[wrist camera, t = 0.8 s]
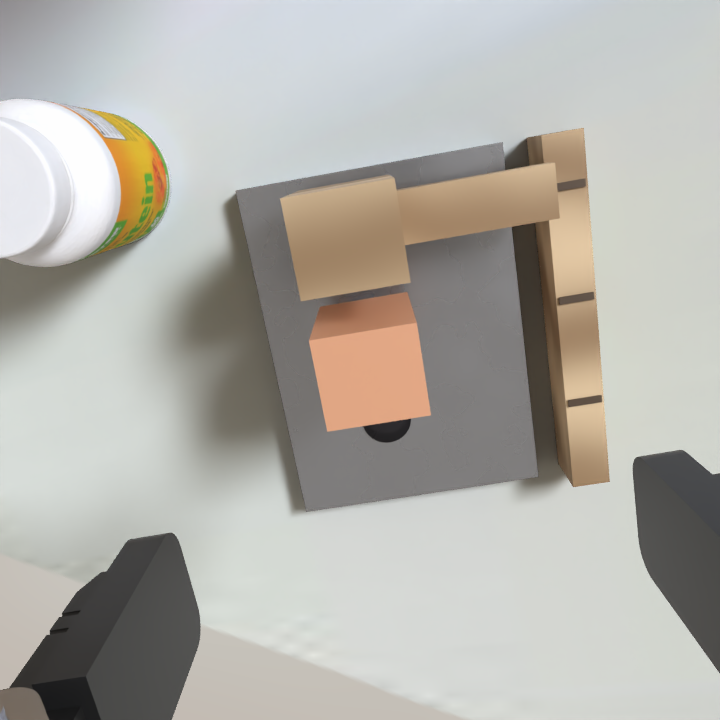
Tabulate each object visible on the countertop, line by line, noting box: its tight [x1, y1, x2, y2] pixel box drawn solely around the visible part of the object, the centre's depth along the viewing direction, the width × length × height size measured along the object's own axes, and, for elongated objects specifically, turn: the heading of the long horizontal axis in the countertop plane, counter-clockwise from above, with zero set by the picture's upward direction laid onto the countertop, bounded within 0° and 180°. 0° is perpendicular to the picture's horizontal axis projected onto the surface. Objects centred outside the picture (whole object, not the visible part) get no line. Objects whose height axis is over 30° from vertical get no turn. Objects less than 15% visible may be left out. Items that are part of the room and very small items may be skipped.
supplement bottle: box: [0, 99, 171, 267], centre depth 23 cm, size 5×5×10 cm
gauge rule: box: [280, 128, 610, 487], centre depth 26 cm, size 15×11×8 cm
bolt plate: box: [236, 142, 538, 512], centre depth 29 cm, size 15×11×1 cm
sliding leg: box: [309, 292, 431, 432], centre depth 25 cm, size 3×4×7 cm
